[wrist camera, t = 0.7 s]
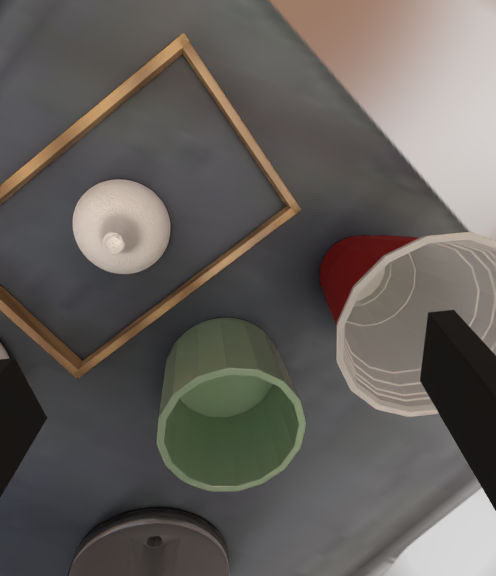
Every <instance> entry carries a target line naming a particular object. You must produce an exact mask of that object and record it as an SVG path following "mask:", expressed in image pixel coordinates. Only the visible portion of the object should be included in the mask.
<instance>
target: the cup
mask: <svg viewBox="0 0 496 576" xmlns="http://www.w3.org/2000/svg"><path fill="white" fill-rule="evenodd" d="M305 427H306V421H305V417H304V413H303V408H302V404H301V400H300V398H299V396H298V394H297V391H296V389H295V387H294V385H293V383H292V380H291V378H290V376H289V374H288V371H287V369H286V367H285V365H284V362H283V360H282V358H281V356H280V353H279V351H278V349H277V347H276V346H275V345H274V343H273V341H272V340H271V338H270V337H269V336H268V335H267V334H266V333H265V332H264V331H263V330H262V329H260V328H259V327H257V326H256V325H254V324H252V323H250V322H247V321H244V320H241V319H236V318H215V319H211V320H207V321H204V322H201V323H199V324H197V325H195V326H193V327H192V328H190V329H189V330H187V331H186V332H185V333H184V334H182V335H181V336H180V338H179V339H178V340H177V341H176V342H175V344H174V345H173V347H172V349H171V351H170V353H169V356H168V358H167V360H166V367H165V374H164V382H163V389H162V396H161V403H160V410H159V417H158V427H157V438H156V444H157V447H158V449H159V452H160V454H161V457H162V459H163V461H164V464H165V466H166V467H167V468H168V469H169V470H170V471H172V472H173V473H174V474H175V475H176V476H177V477H178V478H180V479H181V480H182V481H183V482H185V483H187V484H189V485H192V486H195V487H198V488H201V489H204V490H207V491H218V492H236V491H241V490H244V489H247V488H250V487H254V486H257V485H260V484H263V483H265V482H266V481H268V480H269V479H271V478H272V477H274V476H275V475H277V474H278V473H279V472H281V471H282V470H284V469H285V468H286V467H287V466H288V464H289V463H290V462H291V460H292V459H293V457H294V456H295V455H296V453H297V452H298V451H299V449H300V448H301V444H302V440H303V435H304V431H305Z"/></svg>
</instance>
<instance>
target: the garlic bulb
mask: <svg viewBox="0 0 496 576" xmlns="http://www.w3.org/2000/svg"><path fill="white" fill-rule="evenodd" d="M73 233H74V237H75V240H76V242H77V244H78V246H79V248H80V250H81V251H82V253H83V254H84V255H85V256H86V258H87V259H88V260H89V261H91V262H92V263H93V264H94V265H96V266H98V267H99V268H101V269H103V270H105V271H108V272H112V273H117V274H132V273H137V272H140V271H142V270H145V269H147V268H149V267H150V266H152V265H153V264H154V263H155V262H156V261H157V260H158V259H159V258H160V257H161V256H162V255H163V253H164V252H165V250H166V247H167V245H168V242H169V239H170V219H169V215H168V212H167V209H166V207H165V205H164V204H163V202H162V201H161V199H160V198H159V197H158V196H157V195H156V194H155V193H154V192H153V191H152V190H150V189H149V188H147V187H145V186H144V185H142V184H139V183H137V182H134V181H130V180H122V179H114V180H109V181H104V182H101V183H98V184H97V185H95V186H93V187H92V188H90V189H89V190H88V191H86V193H84V195H83V196H82V197H81V198H80V200H79V201H78V203H77V205H76V207H75V210H74V214H73Z"/></svg>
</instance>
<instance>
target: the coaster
mask: <svg viewBox="0 0 496 576" xmlns="http://www.w3.org/2000/svg"><path fill="white" fill-rule="evenodd" d="M0 359H9V356H8V353H7V352H6V350H5V348H4V347H3V345H2V344H1V343H0Z"/></svg>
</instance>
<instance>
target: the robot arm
mask: <svg viewBox="0 0 496 576" xmlns="http://www.w3.org/2000/svg"><path fill="white" fill-rule="evenodd" d="M420 382H421V384H422V385H423V387H424V389H425V390H426V392H427V394H428V396H429V397H430V399H431V401H432V402H433V404H434V406H435V408H436V409H437V411H438V413H439V414H440V416H441V418H442V420H443V421H444V423H445V425H446V426H447V428H448V430H449V431H450V433H451V435H452V437H453V438H454V440H455V442H456V443H457V445H458V447H459V449H460V450H461V452H462V454H463V455H464V457H465V459H466V461H467V462H468V464H469V466H470V467H471V469H472V471H473V473H474V474H475V476H476V478H477V479H478V481H479V483H480V485H481V486H482V488H483V490H484V491H485V493H486V495H487V497H488V498H489V500H490V502H491V503H492V505H493V507H494V508H495V510H496V355H495V354H494V353H493V352H492V351H491V350H490V349H489V347H488V346H487V345H486V344H485V343H484V342H483V341H482V340H481V339H480V338H479V337H478V335H477V334H476V333H475V332H474V331H473V330H472V329H471V328H470V327H469V326H468V325H467V323H466V322H465V321H464V320H463V319H462V318H461V317H460V316H459V315H458V314H457V313H456V311H455V310H446V311H437V312H428V317H427V325H426V333H425V342H424V350H423V358H422V367H421V375H420ZM46 419H47V417H46V415H45V413H44V411H43V409H42V408H41V406H40V404H39V402H38V400H37V398H36V397H35V395H34V393H33V391H32V389H31V387H30V386H29V384H28V382H27V380H26V378H25V376H24V375H23V373H22V371H21V369H20V367H19V365H18V364H17V362H16V360H15V358H9V359H0V497H1V495H2V494H3V492H4V490H5V488H6V487H7V485H8V483H9V482H10V480H11V478H12V477H13V475H14V473H15V471H16V470H17V468H18V466H19V465H20V463H21V461H22V460H23V458H24V456H25V455H26V453H27V451H28V449H29V448H30V446H31V444H32V443H33V441H34V439H35V438H36V436H37V434H38V433H39V431H40V429H41V427H42V426H43V424H44V422H45V421H46ZM68 576H229V560H228V551H227V547H226V544H225V542H224V539H223V538H222V536H221V535H220V533H219V532H218V531H217V530H216V529H215V528H214V527H213V526H212V525H211V524H209V523H208V522H207V521H205V520H203V519H202V518H200V517H197V516H195V515H193V514H190V513H187V512H183V511H179V510H173V509H161V508H156V509H143V510H137V511H132V512H129V513H125V514H122V515H119V516H117V517H114V518H112V519H110V520H108V521H106V522H104V523H103V524H101V525H99V526H98V527H96V528H95V529H94V530H93V531H91V532H90V533H89V534H88V535H87V536H86V537H85V538H84V539H83V541H82V542H81V543H80V545H79V546H78V548H77V550H76V552H75V554H74V557H73V560H72V563H71V566H70V569H69V573H68Z"/></svg>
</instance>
